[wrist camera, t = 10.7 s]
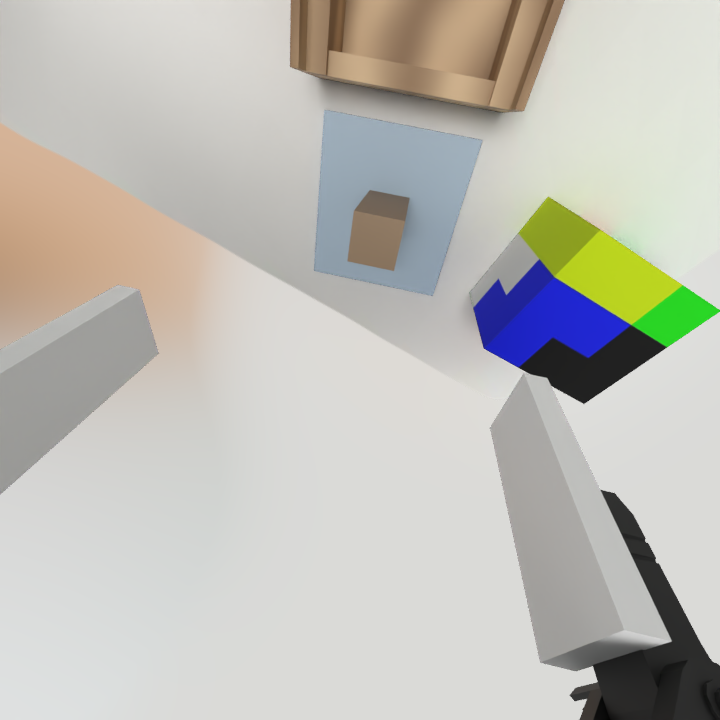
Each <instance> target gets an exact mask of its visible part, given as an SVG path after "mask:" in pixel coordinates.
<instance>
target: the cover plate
mask: <svg viewBox="0 0 720 720" xmlns="http://www.w3.org/2000/svg"><path fill="white" fill-rule="evenodd" d="M481 143H482V140H479V139H474V138H469V137H464V136H459V135H453V134H448V133H443V132H438V131H433V130H428V129H422V128H417V127H412V126H407V125H402V124H396V123H391V122H386V121H381V120H376V119H371V118H365V117H360V116H355V115H350V114H345V113H339V112H334V111H329V110H324V125H323V140H322V156H321V171H320V187H319V202H318V218H317V233H316V249H315V264H314V271H318V272H322V273H327V274H332V275H336V276H341V277H346V278H351V279H355V280H360V281H365V282H369V283H374V284H379V285H384V286H388V287H393V288H398V289H403V290H407V291H412V292H417V293H421V294H426V295H431V296H433V293H434V290H435V287H436V284H437V281H438V278H439V274H440V271H441V268H442V265H443V262H444V259H445V256H446V253H447V250H448V246H449V243H450V240H451V237H452V234H453V231H454V228H455V225H456V221H457V218H458V215H459V212H460V209H461V206H462V203H463V200H464V196H465V193H466V190H467V187H468V184H469V181H470V178H471V175H472V172H473V168H474V165H475V162H476V159H477V156H478V153H479V150H480V147H481Z"/></svg>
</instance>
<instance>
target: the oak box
mask: <svg viewBox="0 0 720 720" xmlns="http://www.w3.org/2000/svg"><path fill="white" fill-rule="evenodd" d="M564 1H565V0H291V36H290V67H292V68H294V69H297V70H300V71H302V72H305V73H308V74H310V75H313V76H315V77H318V78H323V79H328V80H333V81H339V82H344V83H349V84H354V85H360V86H365V87H370V88H376V89H381V90H386V91H391V92H397V93H402V94H407V95H412V96H418V97H423V98H428V99H434V100H439V101H444V102H449V103H455V104H460V105H465V106H471V107H476V108H481V109H486V110H492V111H497V112H502V113H503V112H517V111H524V109H525V106H526V104H527V101H528V98H529V96H530V93H531V90H532V87H533V85H534V82H535V79H536V77H537V74H538V71H539V68H540V66H541V63H542V60H543V58H544V55H545V52H546V50H547V47H548V44H549V41H550V39H551V36H552V33H553V31H554V28H555V25H556V22H557V20H558V17H559V14H560V12H561V9H562V6H563V4H564Z"/></svg>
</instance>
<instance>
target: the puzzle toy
mask: <svg viewBox="0 0 720 720" xmlns="http://www.w3.org/2000/svg"><path fill="white" fill-rule="evenodd" d="M470 297H471V301H472V305H473V309H474V312H475V316H476V320H477V324H478V328H479V332H480V336H481V340H482V343H483V347H484V349H486V350H487V351H489V352H491V353H493V354H495V355H497V356H498V357H500V358H502V359H504V360H506V361H507V362H509V363H511V364H513V365H515V366H516V367H518V368H520V369H522V370H524V371H525V372H527V373H529V374H531V375H536V376H540V377H545V378H548V380H549V383H550V385H551V386H553V387H554V388H556V389H558V390H560V391H562V392H563V393H565V394H567V395H569V396H571V397H573V398H574V399H576V400H578V401H580V402H582V403H583V404H584V403H586V402H587V401H589V400H590V399H592V398H593V397H595V396H596V395H597V394H599V393H601V392H602V391H603V390H605V389H607V388H608V387H609V386H611V385H612V384H614V383H615V382H617V381H618V380H620V379H621V378H623V377H624V376H626V375H627V374H628V373H630V372H632V371H633V370H635V369H636V368H637V367H639V366H640V365H642V364H643V363H645V362H646V361H648V360H649V359H650V358H652V357H654V356H655V355H656V354H658V353H660V352H661V351H662V350H664V349H665V348H667V347H668V346H670V345H671V344H673V343H674V342H676V341H677V340H679V339H680V338H682V337H683V336H684V335H686V334H688V333H689V332H690V331H692V330H693V329H695V328H696V327H698V326H699V325H701V324H702V323H704V322H705V321H706V320H708V319H710V318H711V317H712V316H714V315H715V314H717V313H718V312H720V310H719V309H717V308H716V307H714V306H713V305H711V304H710V303H708V302H707V301H705V300H704V299H702V298H701V297H699V296H698V295H696V294H695V293H694V292H692V291H690V290H689V289H688V288H686V287H684V286H683V285H682V284H680V283H679V282H677V281H676V280H674V279H673V278H671V277H670V276H668V275H667V274H665V273H664V272H662V271H661V270H659V269H658V268H656V267H655V266H653V265H652V264H650V263H649V262H648V261H646V260H645V259H643V258H642V257H640V256H639V255H637V254H636V253H634V252H633V251H631V250H630V249H628V248H627V247H625V246H624V245H622V244H621V243H619V242H618V241H616V240H615V239H613V238H612V237H610V236H609V235H607V234H606V233H604V232H603V231H602V230H600V229H598V228H597V227H595V226H594V225H592V224H591V223H589V222H587V221H586V220H584V219H583V218H581V217H580V216H578V215H576V214H575V213H573V212H572V211H570V210H568V209H567V208H565V207H564V206H562V205H561V204H559V203H557V202H556V201H554V200H553V199H551V198H550V197H548V198H547V199H546V200H545V201H544V202H543V204H542V205H541V206H540V207H539V209H538V210H537V211H536V212H535V213H534V215H533V216H532V217H531V218H530V220H529V221H528V222H527V223H526V224H525V226H524V227H523V228H522V229H521V230H520V232H519V233H518V234H517V235H516V237H515V238H514V239H513V240H512V241H511V243H510V244H509V245H508V246H507V248H506V249H505V250H504V251H503V252H502V254H501V255H500V256H499V257H498V259H497V260H496V261H495V262H494V263H493V265H492V266H491V267H490V268H489V269H488V271H487V272H486V273H485V274H484V276H483V277H482V278H481V279H480V280H479V282H478V283H477V284H476V285H475V287H474V288H473V289H472V290H471V291H470Z"/></svg>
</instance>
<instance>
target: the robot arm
mask: <svg viewBox="0 0 720 720" xmlns="http://www.w3.org/2000/svg"><path fill="white" fill-rule="evenodd" d="M157 354H158V350H157V346H156V343H155V340H154V337H153V333H152V330H151V327H150V323H149V320H148V317H147V313H146V310H145V307H144V303H143V300H142V297H141V294H140V291H139V289H135V288H130V287H125V286H121V285H117V286H115V287H113V288H111V289H109V290H107V291H106V292H104V293H102V294H100V295H98V296H97V297H95V298H93V299H91V300H89V301H87V302H86V303H84V304H82V305H80V306H78V307H77V308H75V309H73V310H71V311H69V312H67V313H65V314H64V315H62V316H60V317H58V318H56V319H55V320H53V321H51V322H49V323H47V324H45V325H44V326H42V327H40V328H38V329H36V330H35V331H33V332H31V333H29V334H27V335H25V336H23V337H22V338H20V339H18V340H16V341H14V342H13V343H11V344H9V345H7V346H5V347H3V348H2V349H0V494H1V493H3V492H4V491H5V490H6V489H7V488H8V487H9V486H10V485H12V484H13V483H14V482H15V481H16V480H17V479H18V478H19V477H21V476H22V475H23V474H24V473H25V472H26V471H27V470H28V469H30V468H31V467H32V466H33V465H34V464H35V463H36V462H37V461H38V460H40V459H41V458H42V457H43V456H44V455H45V454H46V453H47V452H49V451H50V449H52V448H53V447H54V446H55V445H56V444H58V443H59V442H60V441H61V440H62V439H63V438H64V437H65V436H66V435H68V434H69V433H70V432H71V431H72V430H73V429H74V428H76V427H77V426H78V425H79V424H80V423H81V422H82V421H83V420H85V419H86V418H87V417H88V416H89V415H90V414H91V413H92V412H94V410H96V409H97V408H98V407H99V406H100V405H101V404H102V403H104V402H105V401H106V400H107V399H108V398H109V397H110V396H111V395H113V394H114V393H115V392H116V391H117V390H118V389H119V388H120V387H121V386H123V385H124V384H125V383H126V382H127V381H128V380H129V379H131V378H132V377H133V376H134V375H135V374H136V373H137V372H138V371H140V370H141V369H142V368H143V367H144V366H145V365H146V364H147V363H148V362H150V361H151V360H152V359H153V358H154V357H155V356H156V355H157ZM490 429H491V434H492V439H493V443H494V448H495V453H496V457H497V462H498V467H499V472H500V476H501V481H502V486H503V490H504V495H505V499H506V504H507V508H508V514H509V518H510V523H511V527H512V532H513V537H514V542H515V547H516V551H517V556H518V561H519V565H520V570H521V574H522V579H523V584H524V589H525V593H526V598H527V603H528V608H529V612H530V616H531V622H532V626H533V631H534V636H535V640H536V645H537V649H538V654H539V659H540V662H541V663H544V664H549V665H552V666H557V667H561V668H565V669H569V670H573V671H578V670H581V669H585V668H588V667H591V666H593V667H594V671H595V674H596V677H597V680H598V682H597V683H593V684H589V685H586V686H581V687H577V688H575V689H574V691H573V692H572V693H571V694H570V696H571V697H572V699H573V700H574V701H577V700H582V699H587V701H586V704H585V707H584V708H583V712H582V715H581V718H580V720H720V666H719V665H718V664H717V663H714V662H712V661H711V659H710V658H709V656H708V654H707V653H706V651H705V650H704V648H703V646H702V645H701V643H700V641H699V639H698V637H697V635H696V634H695V632H694V630H693V628H692V626H691V624H690V622H689V620H688V618H687V616H686V614H685V613H684V611H683V609H682V607H681V605H680V603H679V601H678V599H677V597H676V595H675V594H674V592H673V590H672V588H671V586H670V584H669V582H668V580H667V578H666V577H665V575H664V573H663V571H662V569H661V567H660V565H659V564H657V563H656V561H655V559H656V557H655V555H654V554H653V552H652V550H651V548H650V546H649V544H648V543H646V542H645V537H644V535H643V533H642V531H641V529H640V527H639V525H638V523H637V521H636V519H635V518H634V516H633V514H632V513H631V512H630V511H629V509H628V508H627V507H626V506H625V505H624V504H623V503H622V501H621V500H620V499H619V498H618V497H617V496H616V494H615V493H611V492H606V491H603V490H600V488H599V486H598V484H597V482H596V480H595V478H594V476H593V473H592V471H591V469H590V467H589V465H588V463H587V461H586V459H585V457H584V455H583V452H582V450H581V448H580V446H579V444H578V442H577V440H576V438H575V435H574V433H573V432H572V429H571V427H570V425H569V423H568V421H567V419H566V416H565V414H564V412H563V410H562V408H561V406H560V404H559V402H558V399H557V397H556V395H555V393H554V391H553V389H552V387H551V385H550V383H549V380H548V378H545V377H540V376H536V375H531V374H526V373H524V374H523V375H522V377H521V379H520V380H519V382H518V383H517V385H516V387H515V388H514V390H513V391H512V393H511V395H510V396H509V398H508V399H507V401H506V403H505V404H504V406H503V408H502V409H501V411H500V412H499V414H498V416H497V417H496V419H495V420H494V422H493V424H492V425H491V427H490Z"/></svg>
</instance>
